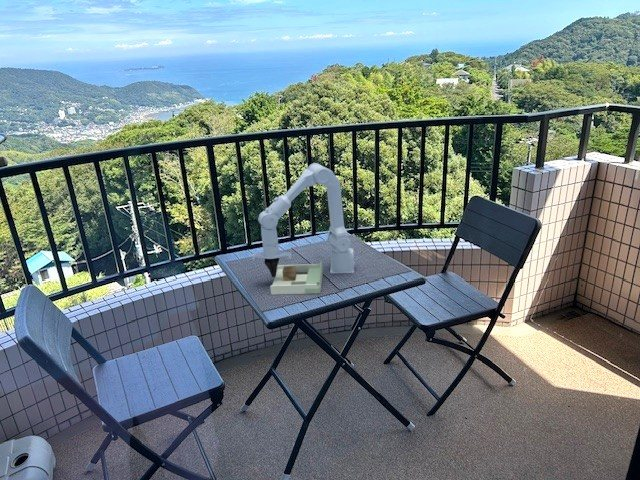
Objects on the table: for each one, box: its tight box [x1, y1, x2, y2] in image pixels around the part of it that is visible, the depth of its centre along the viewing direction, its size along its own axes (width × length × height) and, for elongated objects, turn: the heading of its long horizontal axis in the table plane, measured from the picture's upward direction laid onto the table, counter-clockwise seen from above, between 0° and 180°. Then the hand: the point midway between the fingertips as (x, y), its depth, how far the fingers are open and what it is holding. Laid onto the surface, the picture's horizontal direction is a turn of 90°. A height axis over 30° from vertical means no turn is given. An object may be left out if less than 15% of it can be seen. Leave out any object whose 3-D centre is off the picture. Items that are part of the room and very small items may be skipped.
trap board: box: [269, 261, 324, 296], centre depth 168 cm, size 18×18×4 cm
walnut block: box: [282, 266, 296, 281], centre depth 167 cm, size 4×4×4 cm
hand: (274, 275), depth 168 cm, fingers closed
